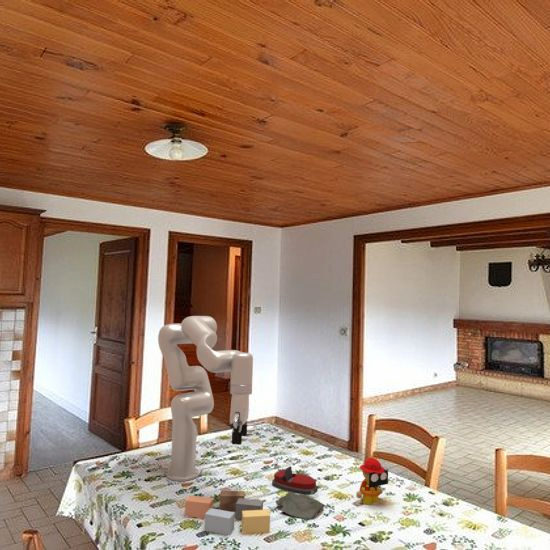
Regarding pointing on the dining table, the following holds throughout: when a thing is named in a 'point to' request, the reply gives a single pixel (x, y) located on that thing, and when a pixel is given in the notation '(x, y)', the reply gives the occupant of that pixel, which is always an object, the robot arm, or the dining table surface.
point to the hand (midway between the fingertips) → (239, 439)
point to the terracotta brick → (197, 506)
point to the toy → (372, 481)
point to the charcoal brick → (247, 506)
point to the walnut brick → (230, 499)
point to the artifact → (300, 505)
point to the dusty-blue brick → (219, 521)
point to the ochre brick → (255, 521)
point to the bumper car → (293, 481)
